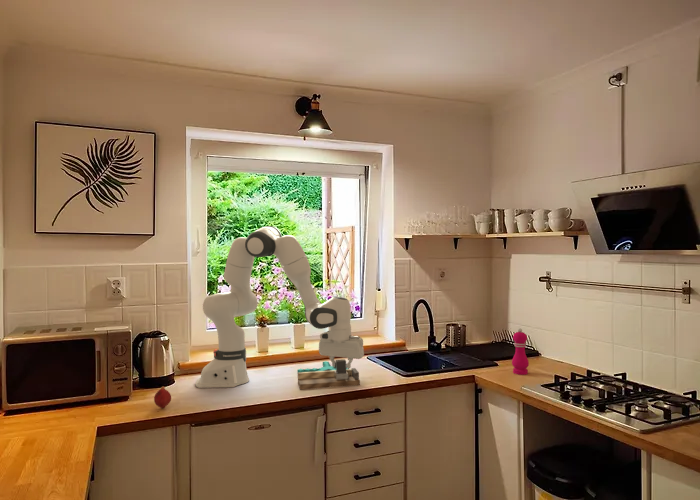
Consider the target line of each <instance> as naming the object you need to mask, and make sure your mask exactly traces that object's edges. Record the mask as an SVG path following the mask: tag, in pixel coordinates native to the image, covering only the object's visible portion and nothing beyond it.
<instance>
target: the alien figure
mask: <svg viewBox="0 0 700 500" xmlns="http://www.w3.org/2000/svg"><path fill="white" fill-rule="evenodd" d="M346 369H350V368H346ZM330 370H336V367H332V365H331V363H330V361H327V360H325V361H322V367H319V368H315V367H314V368H305V369H303V368H298V369H297V371H296V372H297V374H298V373H299V372H315V371H330Z"/></svg>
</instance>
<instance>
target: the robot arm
mask: <svg viewBox="0 0 700 500" xmlns="http://www.w3.org/2000/svg"><path fill="white" fill-rule="evenodd" d="M272 256H275V258H277V260H278V262H279V263H280V267H281V268H282V270H283V272H284V274H285V275H286V277H287V278H288V279H289V280H290V282H291V283H292V284H293V285H294V287H295V288H296V289H297V291H298V294H299V296H300V298H301V300H302V303H303V305H304V316H305V317H304V318H305V319H306V321H307V323H309V325H311V326H312V327H314V328H316V329H317V330H323V329H326V328H330V329H329V330H327V331H325V332H322V333H320V334H319V337H320V340H319V343H318V353H319V354H320V356H323V357H324V356H326V357H329V360H330V362H331V366H332V367H336V359H335V358H343V359H345V358H347V361H348V362H346V368H349V369H351V368H352V366H351V365H352V362H353V361H354V359H356V360H360V359H362V358H364V356H365V351H364V350H365V349H364V339H363V338H362V337H361V336H359V335H352V325H351V319H352V309H351V303H350V300H348V299H347V298H345V297H342V296H332V297H331V298H329V299H328V300H326V301H325V302H323V303H322V302H321V301H320V300H319V299H318V297H317V295H316V292H315V290H314V287H313V286H312V283H311V272H312V270H311V265H310V261H309V259H308V257H307V255H306V253H305V251H304V249H303V247H302V245H301V244H300V242H299V241H298V240H297V238H296V237H295V236H294V235H291V234H290V235H289V234H286V235H282V232H281V231H280V230H279V229H278V228H277V227H276V226H274V225H266V226H263V227H259V228H258V229H256V230H254V231H253V232H251V233H249V235H248V236H247V237H243V236H242V237H237V238H235V239H233V242H232V243H231V245H230V249H229V251H228V255H227V258H226V263H225V268H224V273H223V278H224V281H225V282H226V283H227V284H228V285H229V286H230V290H229V291H226V292H218V293H213V294H211V295H208V296H206V297H205V298H204V300H203V303H202V311H203V313H204V315H205V316H206V318H207V319H209V320H211V321H212V323H213V324H214V326H215V328H216V330H217V339H218V349H217V348H215V349H214V350H213V351H212V352H213V359H212V360H211V361H210V362H208V363H207V364H206V365H205V366H204V367H203V368H202V369H201V370H202V371H201V372H200V373H201V374H200V377H199V378H198V379H196V380H195V387H197V388H199V389H201V388H202V389H203V388H205V389H207V388H208V389H210V388H211V389H212V388H234V387H237V386H240V385H243V384H246V383H248V382H249V381H250V377H249V375H248V371H247V364H246V363H247V362H246V361H247V349H246V347H245V345H246V344H245V343H246V342H245V337H246V335H245V331H244V328H243V327H241V326H240V325H237V323H236V322H235V317H242V316H246V315H249V314H252V313H254V312H255V311H256V309H257V307H258V298H257V296H256V294H255V293H254V292H253V291H252V289H251V276H252V271H253V267H254V261H255V258H264V257H265V258H266V257H272Z"/></svg>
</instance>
